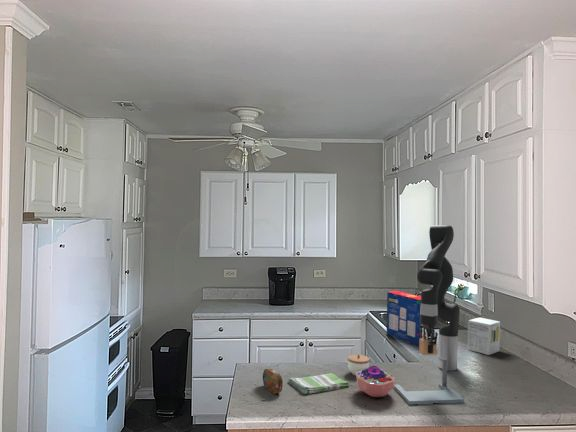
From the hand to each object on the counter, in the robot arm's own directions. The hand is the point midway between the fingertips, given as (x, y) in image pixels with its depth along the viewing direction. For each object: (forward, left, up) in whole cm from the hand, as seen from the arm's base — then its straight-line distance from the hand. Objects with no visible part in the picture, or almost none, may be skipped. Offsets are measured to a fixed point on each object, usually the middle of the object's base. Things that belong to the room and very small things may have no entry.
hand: (427, 351), depth 204 cm
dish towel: (-11, -47, -18) cm, 52 cm away
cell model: (+2, -25, -18) cm, 31 cm away
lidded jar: (-23, -25, -18) cm, 38 cm away
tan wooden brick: (0, 0, -1) cm, 1 cm away
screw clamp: (+5, -2, -18) cm, 19 cm away
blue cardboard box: (-80, +23, -18) cm, 85 cm away
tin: (-6, -69, -18) cm, 72 cm away
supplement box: (-55, +60, -18) cm, 83 cm away
